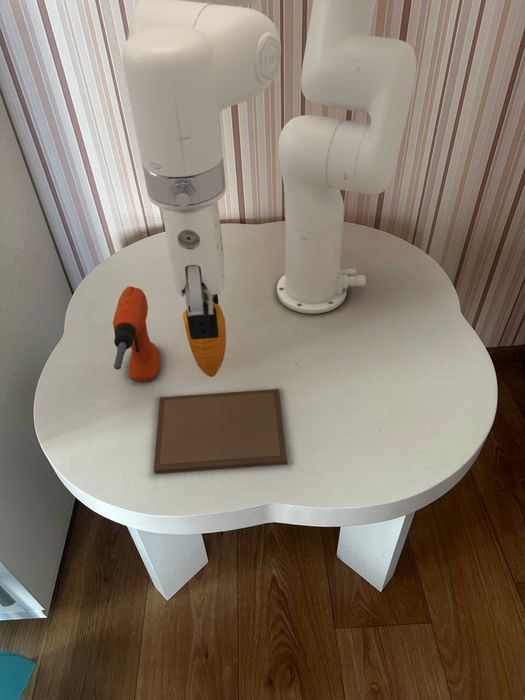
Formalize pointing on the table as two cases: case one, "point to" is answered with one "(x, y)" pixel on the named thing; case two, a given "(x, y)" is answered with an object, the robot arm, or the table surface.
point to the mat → (219, 431)
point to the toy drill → (135, 336)
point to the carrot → (209, 345)
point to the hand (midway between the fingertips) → (204, 319)
